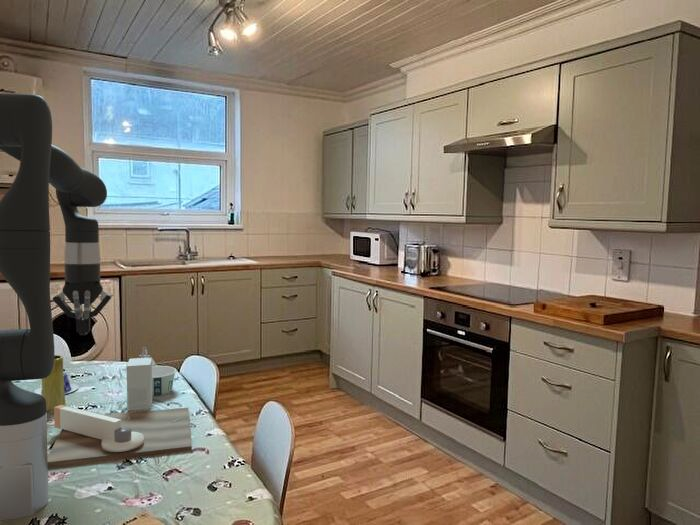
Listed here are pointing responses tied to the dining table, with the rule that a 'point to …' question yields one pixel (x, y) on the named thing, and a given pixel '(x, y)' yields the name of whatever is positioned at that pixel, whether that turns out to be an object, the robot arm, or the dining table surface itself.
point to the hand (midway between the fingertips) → (83, 334)
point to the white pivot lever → (98, 428)
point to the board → (157, 427)
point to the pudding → (66, 385)
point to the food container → (162, 379)
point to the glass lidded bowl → (146, 357)
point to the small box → (139, 384)
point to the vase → (54, 385)
